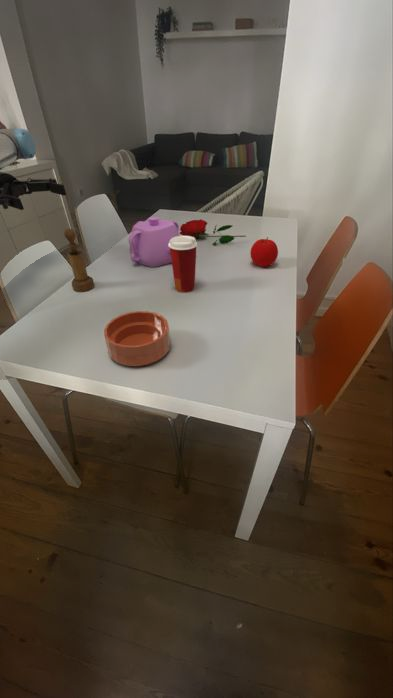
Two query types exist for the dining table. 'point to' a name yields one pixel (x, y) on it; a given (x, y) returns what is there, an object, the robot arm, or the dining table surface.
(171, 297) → the dining table surface
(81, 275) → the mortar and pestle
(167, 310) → the dining table surface
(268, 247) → the fruit
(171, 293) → the dining table surface
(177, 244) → the coffee cup
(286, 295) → the dining table surface
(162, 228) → the teapot
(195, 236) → the flower
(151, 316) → the bowl
